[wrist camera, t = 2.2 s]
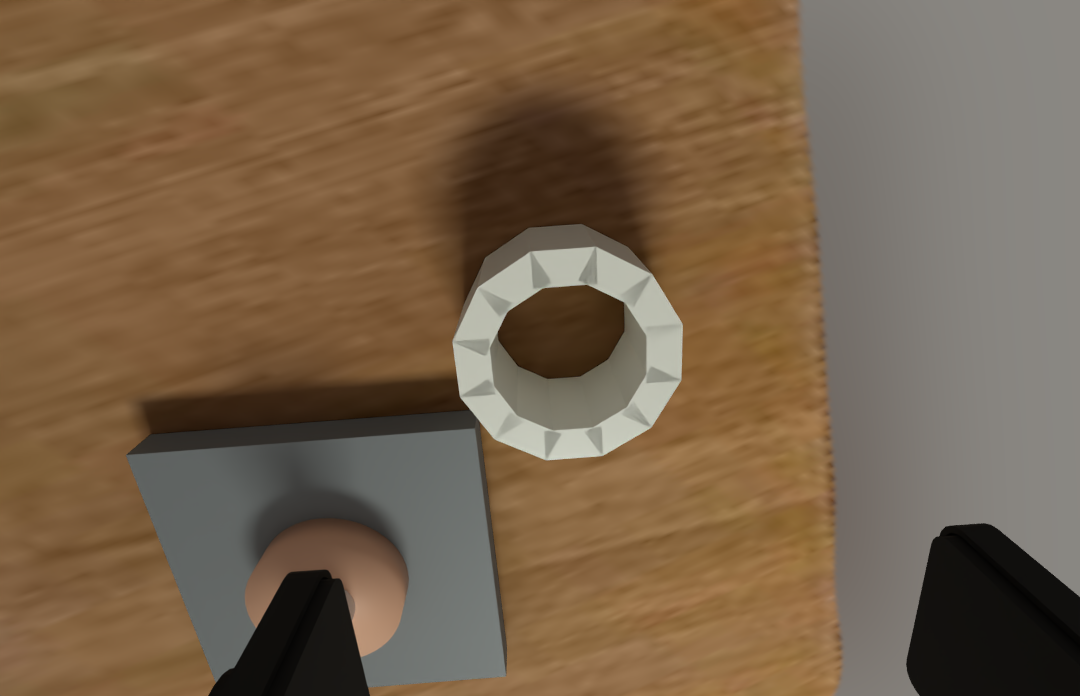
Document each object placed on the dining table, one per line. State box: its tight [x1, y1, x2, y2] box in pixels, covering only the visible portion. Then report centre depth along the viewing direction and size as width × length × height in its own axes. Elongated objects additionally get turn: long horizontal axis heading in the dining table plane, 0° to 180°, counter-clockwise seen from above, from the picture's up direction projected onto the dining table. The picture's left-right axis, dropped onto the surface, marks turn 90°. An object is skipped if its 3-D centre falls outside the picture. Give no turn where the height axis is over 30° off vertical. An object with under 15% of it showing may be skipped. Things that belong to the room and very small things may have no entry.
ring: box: [453, 224, 683, 460], centre depth 19 cm, size 7×7×4 cm
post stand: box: [126, 410, 507, 687], centre depth 21 cm, size 13×13×8 cm
